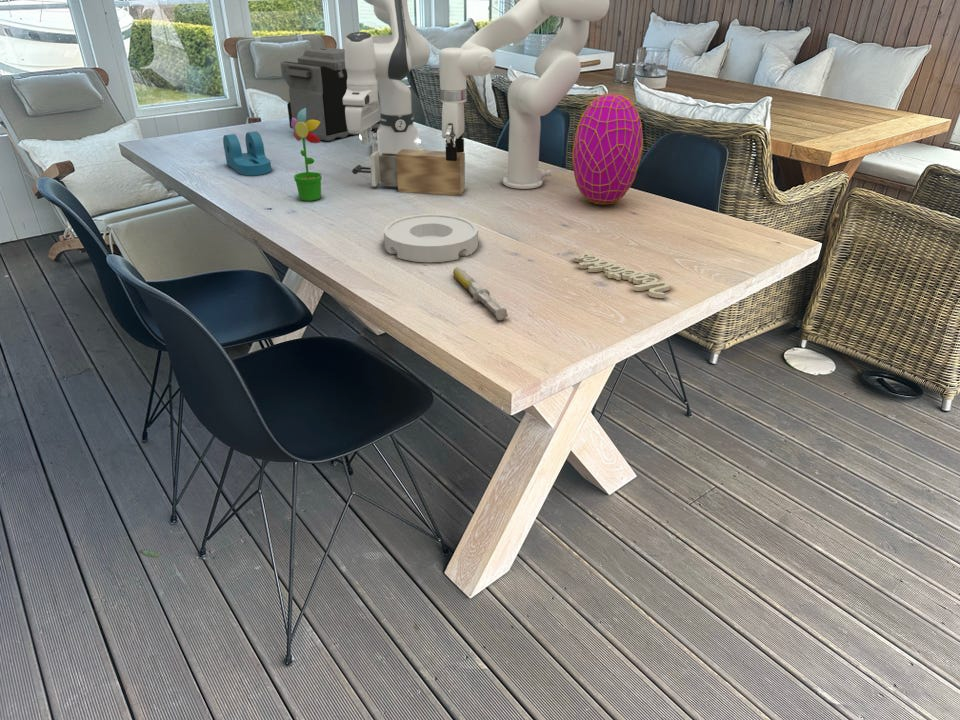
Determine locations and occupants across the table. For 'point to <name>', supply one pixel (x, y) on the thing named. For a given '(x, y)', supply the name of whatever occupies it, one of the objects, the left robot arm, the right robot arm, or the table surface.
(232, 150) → the camera mount
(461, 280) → the syringe
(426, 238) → the ashtray
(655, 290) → the decorative sign
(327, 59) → the electronic device
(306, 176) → the potted flower
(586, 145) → the decorative egg
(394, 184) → the drawer
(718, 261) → the table surface
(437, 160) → the tan elongated box
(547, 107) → the right robot arm
